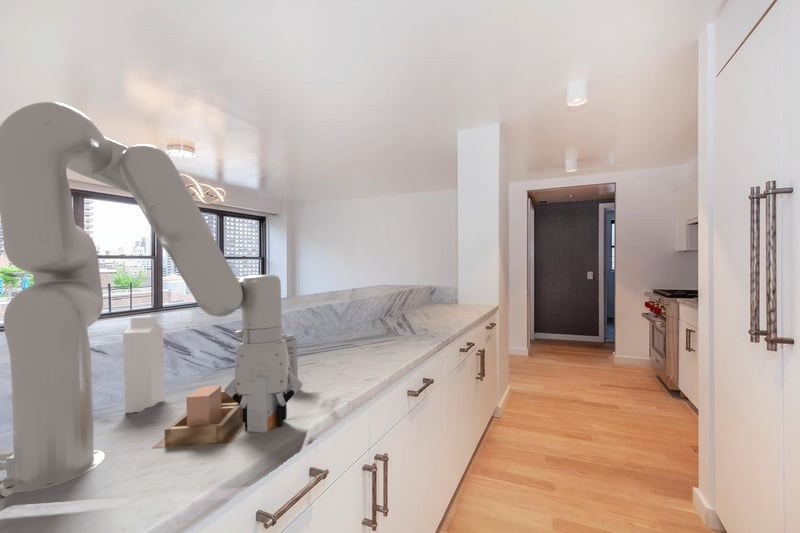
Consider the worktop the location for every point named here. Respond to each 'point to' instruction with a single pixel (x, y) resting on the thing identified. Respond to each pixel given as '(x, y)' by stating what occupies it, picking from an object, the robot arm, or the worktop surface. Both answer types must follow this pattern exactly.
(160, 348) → the milk
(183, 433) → the socket board
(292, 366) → the energy drink can
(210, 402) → the terracotta block
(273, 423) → the skincare box
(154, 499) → the worktop surface
